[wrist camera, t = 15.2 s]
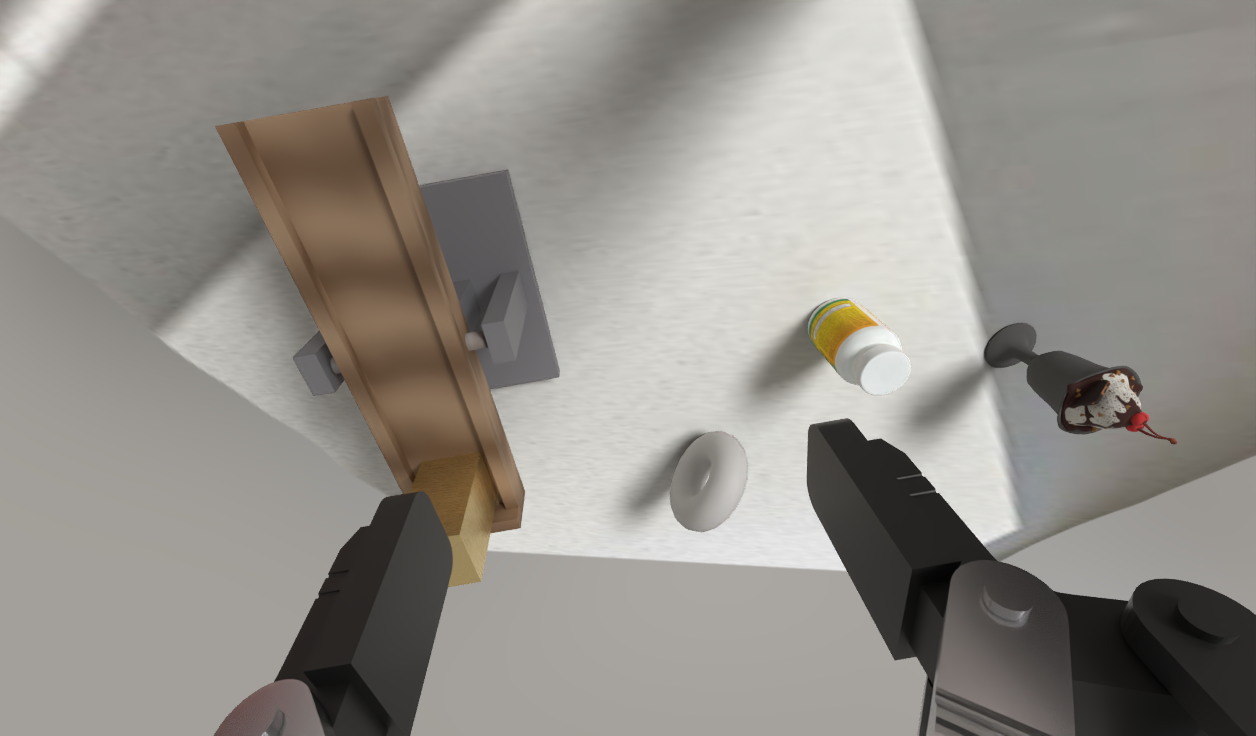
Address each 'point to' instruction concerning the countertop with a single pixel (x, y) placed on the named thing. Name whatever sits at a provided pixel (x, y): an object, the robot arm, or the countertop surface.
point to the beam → (377, 284)
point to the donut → (723, 489)
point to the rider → (461, 509)
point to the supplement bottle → (859, 346)
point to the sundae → (1074, 384)
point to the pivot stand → (476, 284)
